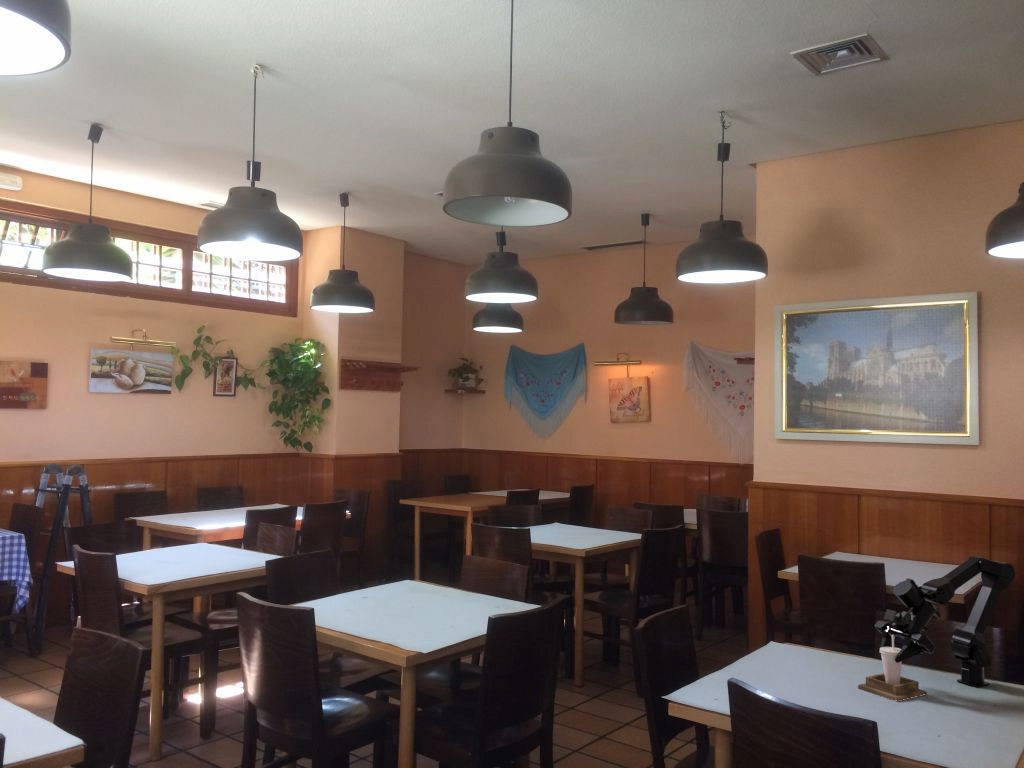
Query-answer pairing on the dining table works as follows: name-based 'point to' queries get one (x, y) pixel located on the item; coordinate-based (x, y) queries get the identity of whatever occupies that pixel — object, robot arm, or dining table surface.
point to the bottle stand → (892, 687)
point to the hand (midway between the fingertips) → (887, 658)
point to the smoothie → (891, 664)
